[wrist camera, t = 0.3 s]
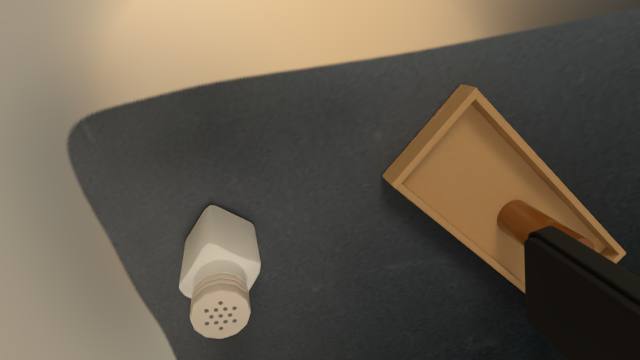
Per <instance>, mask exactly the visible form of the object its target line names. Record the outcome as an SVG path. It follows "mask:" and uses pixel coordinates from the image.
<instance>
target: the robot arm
mask: <svg viewBox="0 0 640 360" xmlns="http://www.w3.org/2000/svg"><path fill="white" fill-rule="evenodd" d="M524 262H525V301H526V317H527V320H528V322H529V324H530V325H531V327H532V328H533V329H534V330H535V331H536V332H537V333H538V334H539V335H540V336H541V337H542V338H543V339H544V340H545V341H546V342H547V343H548V344H550V345H551V346H552V347H553V348H554V349H555V350H556V351H557V352H558V353H559V354H560V355H561V356H562V357H563V358H564V359H565V360H640V278H639V277H638V276H636V275H634V274H633V273H631V272H629V271H628V270H626V269H624V268H623V267H621V266H619V265H618V264H616V263H614V262H613V261H611V260H609V259H608V258H606V257H604V256H603V255H601V254H600V253H598V252H596V251H595V250H593V249H591V248H590V247H588V246H586V245H585V244H583V243H581V242H580V241H578V240H576V239H575V238H573V237H571V236H570V235H568V234H566V233H565V232H563V231H561V230H560V229H558V228H557V227H554V226H547V227H544V228H541V229H538V230H536V231H533V232H531V233H529V235H528V239H527V240H525V242H524Z"/></svg>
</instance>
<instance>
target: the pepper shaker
mask: <svg viewBox="0 0 640 360" xmlns="http://www.w3.org/2000/svg"><path fill="white" fill-rule="evenodd" d="M260 266H261V262H260V257H259V251H258V245H257V239H256V234H255V228H254V226H253V224H252V223H251V222H249V221H247V220H245V219H243V218H241V217H238V216H236V215H234V214H232V213H230V212H228V211H226V210H224V209H221V208H219V207H217V206H214V205H210V206H209V207H207V208H206V209H205V210H204V211H203V213H202V215H201V216H200V218H199V219H198V221H197V223H196V224H195V226H194V228H193V229H192V231H191V232H190V234H189V236H188V237H187V239H186V242H185V248H184V255H183V262H182V269H181V275H180V282H179V289H180V291H181V292H182V293H183V294H184V295H185V296H187V297H189V298H191V309H190V320H191V323H192V325H193V327H194V330H195V331H197V332H199V333H200V334H202V335H203V336H205V337H207V338H217V339H223V338H226V337H229V336H232V335H235V334H237V333H238V332H239V331H240V330H241V329H242V328H243V327H245V326H246V325H247V322H248V319H249V316H250V313H251V308H250V300H249V290H250V288H251V286H252V285H253V283H254V282H255V280H256V278H257V276H258V274H259V273H260Z"/></svg>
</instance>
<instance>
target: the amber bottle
mask: <svg viewBox="0 0 640 360" xmlns="http://www.w3.org/2000/svg"><path fill="white" fill-rule="evenodd" d="M497 224H498V227H499V228H500V230H502V231H503V232H504V233H506V234H507V235H509V236H510V237H511V238H513V239H514V240H515V241H517V242H518V243H519V244H521V245H522V246H523V247H524V242H525V240H527V239H528V235H529V233H531V232H533V231H536V230H538V229H541V228H544V227H547V226H554V227H557V228H558V229H560V230H561V231H563V232H565V233H566V234H568V235H570V236H571V237H573V238H575V239H576V240H578V241H580V242H581V243H583V244H585V245H586V246H588V247H590V248H591V249H593V250H595V248H594V245H593V243H592V241H590V240H589V239H587V238H586V237H584V236H582V235H580V234H579V233H577V232H575V231H574V230H572V229H570V228H569V227H567V226H565V225H563V224H562V223H560V222H558V221H557V220H555V219H553V218H551V217H550V216H548V215H546V214H545V213H543V212H541V211H540V210H538V209H536V208H534V207H533V206H531V205H529V204H528V203H526V202H524V201H522V200H513V201H511V202H509V203H507V204H506V205H505V206H503V208H502V209H501V210H500V212H499V214H498V217H497Z"/></svg>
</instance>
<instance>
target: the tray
mask: <svg viewBox="0 0 640 360" xmlns="http://www.w3.org/2000/svg"><path fill="white" fill-rule="evenodd" d="M382 177H383V178H384V179H385V180H386V181H387V182H388V183H389V184H390V185H392V186H393V187H394V188H395V189H397V190H398V191H399V192H400V193H401V194H403V195H404V196H405V197H406V198H408V199H409V200H410V201H411V202H413V203H414V204H415V205H416V206H418V207H419V208H420V209H421V210H422V211H424V212H425V213H426V214H427V215H429V216H430V217H431V218H432V219H434V220H435V221H436V222H437V223H439V224H440V225H441V226H442V227H443V228H445V229H446V230H447V231H448V232H450V233H451V234H452V235H453V236H455V237H456V238H457V239H458V240H460V241H461V242H462V243H463V244H464V245H466V246H467V247H468V248H469V249H471V250H472V251H473V252H474V253H476V254H477V255H478V256H479V257H480V258H482V259H483V260H484V261H485V262H487V263H488V264H489V265H490V266H492V267H493V268H494V269H495V270H497V271H498V272H499V273H500V274H501V275H503V276H504V277H505V278H506V279H508V280H509V281H510V282H511V283H513V284H514V285H515V286H516V287H518V288H519V289H520V290H521V291H522V292H524V293H525V262H524V247H523V246H522V245H521V244H519V243H518V242H517V241H515V240H514V239H513V238H511V237H510V236H509V235H507V234H506V233H504V232H503V231H502V230H500V228H499V227H498V224H497V217H498V214H499V212H500V210H501V209H502V208H503V206H505V205H506V204H507V203H509V202H511V201H513V200H522V201H524V202H526V203H528V204H529V205H531V206H533V207H534V208H536V209H538V210H540V211H541V212H543V213H545V214H546V215H548V216H550V217H551V218H553V219H555V220H557V221H558V222H560V223H562V224H563V225H565V226H567V227H569V228H570V229H572V230H574V231H575V232H577V233H579V234H580V235H582V236H584V237H586V238H587V239H589V240H590V241H592V243H593V245H594V248H595V251H596V252H598V253H600V254H601V255H603V256H604V257H606V258H608V259H609V260H611V261H613V262H614V263H617V262H618V261H619V260H620V259H621V258H622V257H623V256H624V255H625V254H626V252H625V251H624V250H623V249H622V248H621V247H620V246H619V244H618V243H617V242H616V241H615V240H614V239H613V238H612V237H611V236H610V235H609V233H608V232H607V231H606V230H605V229H604V228H603V227H602V226H601V225H600V224H599V222H598V221H597V220H596V219H595V218H594V217H593V216H592V215H591V214H590V213H589V211H588V210H587V209H586V208H585V207H584V206H583V205H582V204H581V203H580V202H579V200H578V199H577V198H576V197H575V196H574V195H573V194H572V193H571V192H570V191H569V189H568V188H567V187H566V186H565V185H564V184H563V183H562V182H561V181H560V180H559V179H558V177H557V176H556V175H555V174H554V173H553V172H552V171H551V170H550V169H549V168H548V166H547V165H546V164H545V163H544V162H543V161H542V160H541V159H540V158H539V157H538V155H537V154H536V153H535V152H534V151H533V150H532V149H531V148H530V147H529V146H528V144H527V143H526V142H525V141H524V140H523V139H522V138H521V137H520V136H519V135H518V133H517V132H516V131H515V130H514V129H513V128H512V127H511V126H510V125H509V124H508V122H507V121H506V120H505V119H504V118H503V117H502V116H501V115H500V114H499V113H498V111H497V110H496V109H495V108H494V107H493V106H492V105H491V104H490V103H489V102H488V100H487V99H486V98H485V97H484V96H483V95H482V94H481V93H480V92H479V91H478V89H477V88H474V87H471V86H467V85H463V84H461V85H460V86H459V87H458V88H457V89H456V90H455V92H454V93H453V94H452V95H451V96H450V97H449V98H448V100H447V101H446V102H445V103H444V104H443V105H442V107H441V108H440V109H439V110H438V111H437V112H436V114H435V115H434V116H433V117H432V118H431V119H430V120H429V122H428V123H427V124H426V125H425V126H424V127H423V129H422V130H421V131H420V132H419V133H418V134H417V135H416V137H415V138H414V139H413V140H412V141H411V142H410V144H409V145H408V146H407V147H406V148H405V149H404V151H403V152H402V153H401V154H400V155H399V156H398V157H397V159H396V160H395V161H394V162H393V163H392V164H391V166H390V167H389V168H388V169H387V170H386V171H385V173H384V174H383V175H382Z"/></svg>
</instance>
